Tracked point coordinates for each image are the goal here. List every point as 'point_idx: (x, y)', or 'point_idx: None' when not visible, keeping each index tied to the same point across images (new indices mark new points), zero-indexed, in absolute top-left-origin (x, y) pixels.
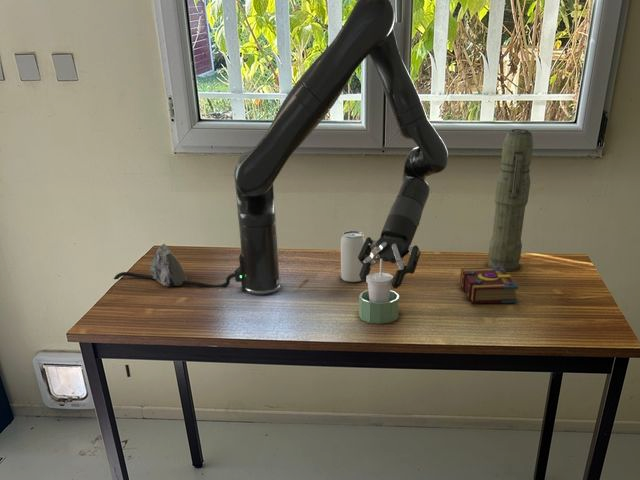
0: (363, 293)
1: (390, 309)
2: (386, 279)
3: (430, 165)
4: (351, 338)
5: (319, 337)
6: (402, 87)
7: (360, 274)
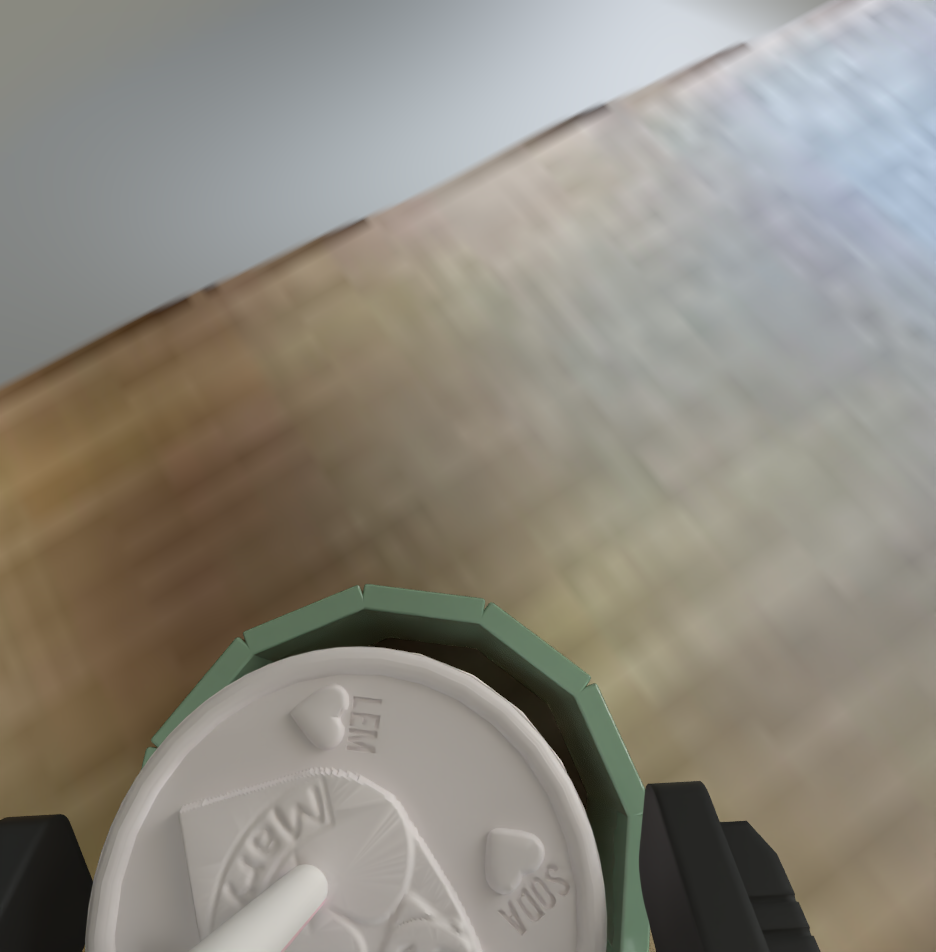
0: (623, 832)
1: None
2: (173, 867)
3: None
4: (361, 292)
5: (571, 191)
6: None
7: (746, 848)
